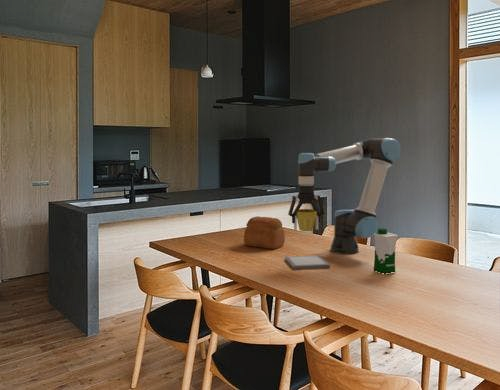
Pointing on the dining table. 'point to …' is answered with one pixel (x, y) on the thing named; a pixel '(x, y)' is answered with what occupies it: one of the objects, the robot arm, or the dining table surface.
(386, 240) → the milk carton
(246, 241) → the bread
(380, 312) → the dining table surface
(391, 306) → the dining table surface
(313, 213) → the plant pot
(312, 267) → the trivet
